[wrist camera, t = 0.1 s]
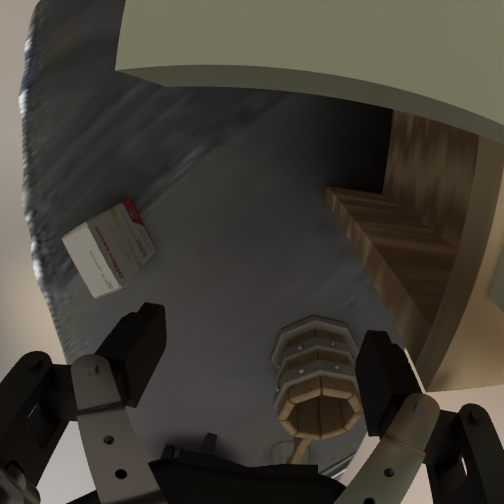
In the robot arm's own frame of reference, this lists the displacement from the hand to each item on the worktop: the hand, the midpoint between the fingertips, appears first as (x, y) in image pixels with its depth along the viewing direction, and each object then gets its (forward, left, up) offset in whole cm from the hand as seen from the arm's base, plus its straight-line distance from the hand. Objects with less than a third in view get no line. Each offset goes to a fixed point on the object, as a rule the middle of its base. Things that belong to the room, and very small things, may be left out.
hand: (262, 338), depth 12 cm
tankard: (+27, +8, -30) cm, 41 cm away
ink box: (+7, -20, -30) cm, 36 cm away
